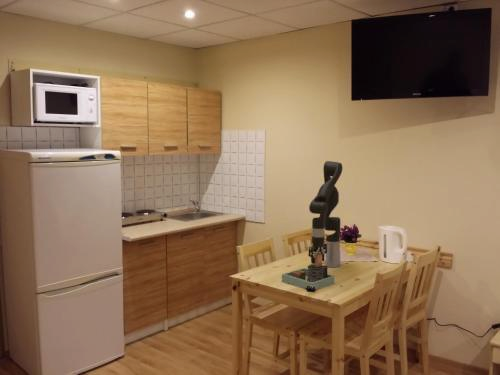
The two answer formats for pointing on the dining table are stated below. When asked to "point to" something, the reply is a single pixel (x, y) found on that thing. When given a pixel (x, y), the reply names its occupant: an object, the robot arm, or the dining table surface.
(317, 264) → the jar
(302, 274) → the block
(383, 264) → the dining table surface
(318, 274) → the small box
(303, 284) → the teal shallow rectangular tray
